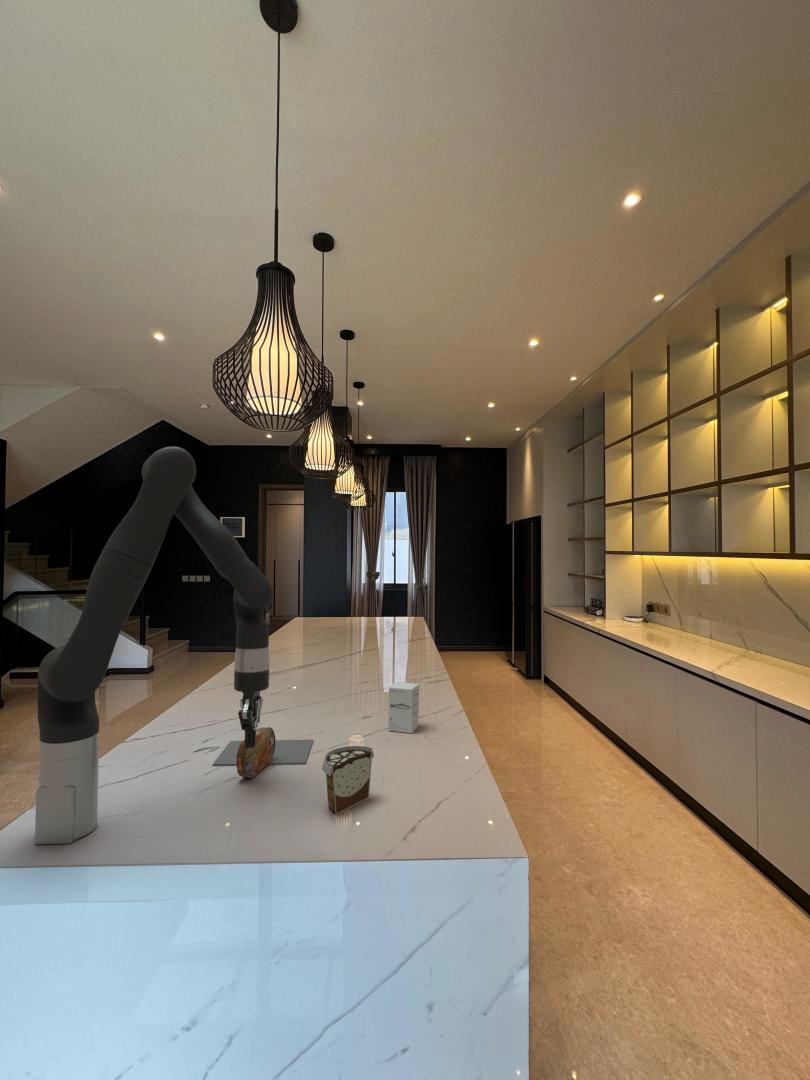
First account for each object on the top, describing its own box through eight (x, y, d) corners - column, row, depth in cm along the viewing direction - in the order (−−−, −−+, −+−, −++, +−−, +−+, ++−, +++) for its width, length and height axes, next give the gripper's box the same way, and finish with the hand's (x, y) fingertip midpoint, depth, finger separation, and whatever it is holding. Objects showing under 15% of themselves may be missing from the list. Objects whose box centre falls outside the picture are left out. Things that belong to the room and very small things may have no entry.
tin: (246, 784, 116) (246, 746, 116) (233, 783, 117) (233, 745, 116) (276, 756, 131) (276, 722, 131) (264, 755, 131) (264, 721, 131)
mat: (305, 764, 127) (305, 762, 127) (212, 765, 126) (212, 764, 126) (313, 740, 143) (313, 739, 143) (230, 742, 142) (230, 740, 142)
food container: (352, 787, 115) (353, 740, 115) (373, 795, 111) (374, 747, 111) (308, 808, 105) (309, 757, 105) (330, 818, 101) (330, 765, 101)
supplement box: (387, 731, 151) (387, 687, 152) (395, 723, 158) (395, 681, 159) (412, 734, 149) (412, 688, 149) (419, 726, 156) (419, 682, 156)
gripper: (262, 673, 112) (261, 757, 111) (274, 662, 125) (273, 737, 124) (226, 673, 111) (224, 757, 110) (242, 662, 124) (240, 737, 124)
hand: (250, 746), depth 117 cm, fingers closed
